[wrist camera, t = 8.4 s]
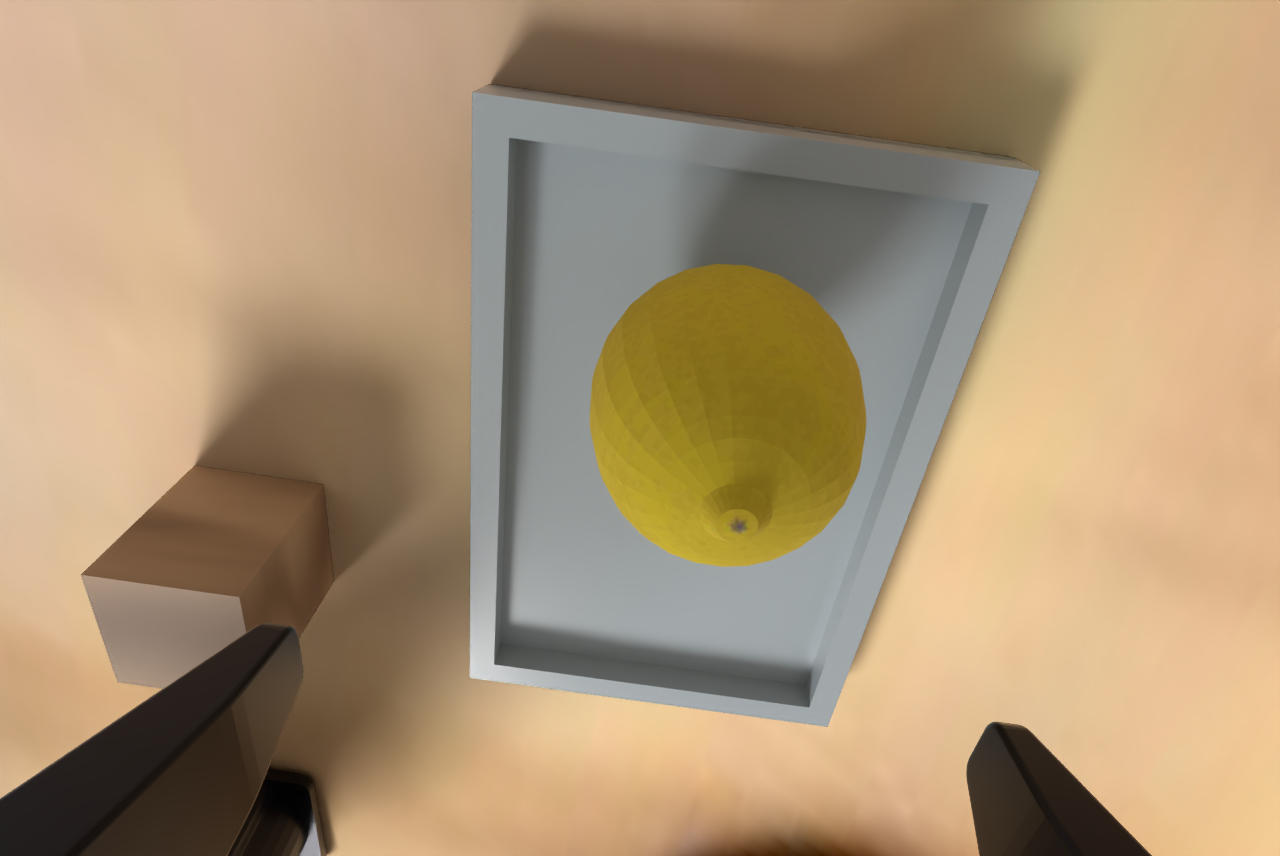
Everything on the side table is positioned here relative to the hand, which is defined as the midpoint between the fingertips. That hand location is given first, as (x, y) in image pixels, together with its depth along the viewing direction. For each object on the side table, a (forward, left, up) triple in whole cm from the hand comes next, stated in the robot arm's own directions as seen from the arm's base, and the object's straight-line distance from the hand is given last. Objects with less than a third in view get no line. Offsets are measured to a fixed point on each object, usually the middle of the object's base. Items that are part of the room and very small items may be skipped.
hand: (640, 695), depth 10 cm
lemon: (+1, -1, -11) cm, 11 cm away
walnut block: (-9, +12, -12) cm, 19 cm away
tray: (-4, -1, -12) cm, 12 cm away
